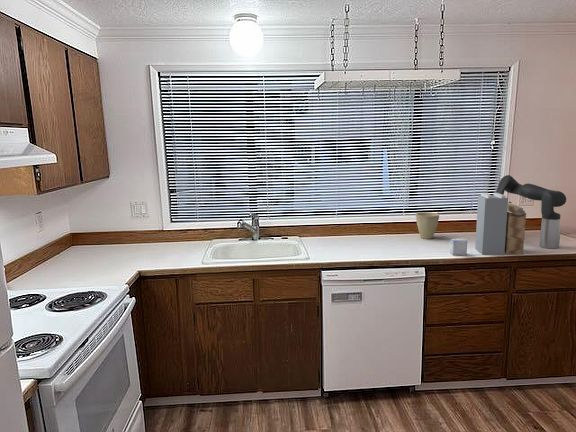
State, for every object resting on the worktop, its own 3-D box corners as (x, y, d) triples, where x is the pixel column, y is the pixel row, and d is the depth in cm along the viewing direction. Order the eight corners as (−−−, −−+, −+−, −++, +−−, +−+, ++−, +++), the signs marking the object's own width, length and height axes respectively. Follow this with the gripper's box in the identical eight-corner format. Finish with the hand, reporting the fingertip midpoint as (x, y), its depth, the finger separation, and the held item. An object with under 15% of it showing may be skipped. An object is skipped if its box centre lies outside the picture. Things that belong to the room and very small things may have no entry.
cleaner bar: (506, 207, 258) (507, 201, 257) (525, 215, 232) (526, 209, 232) (500, 207, 258) (501, 201, 258) (519, 215, 233) (519, 209, 232)
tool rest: (513, 248, 255) (516, 209, 251) (522, 254, 243) (526, 213, 238) (497, 248, 256) (500, 209, 252) (506, 254, 244) (509, 213, 239)
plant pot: (443, 239, 281) (444, 215, 278) (422, 241, 278) (423, 216, 275) (430, 234, 295) (431, 211, 292) (410, 236, 292) (411, 212, 289)
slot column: (496, 249, 254) (500, 192, 248) (504, 254, 243) (508, 195, 237) (475, 248, 256) (478, 192, 250) (482, 254, 244) (485, 195, 238)
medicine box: (463, 253, 248) (464, 238, 246) (466, 255, 243) (467, 240, 242) (449, 253, 248) (450, 238, 246) (452, 255, 243) (453, 240, 242)
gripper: (484, 207, 272) (493, 197, 255) (507, 207, 270) (518, 197, 254) (485, 218, 269) (495, 209, 253) (509, 218, 268) (520, 209, 251)
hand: (506, 203), depth 254 cm, fingers closed on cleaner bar, 3 cm apart
